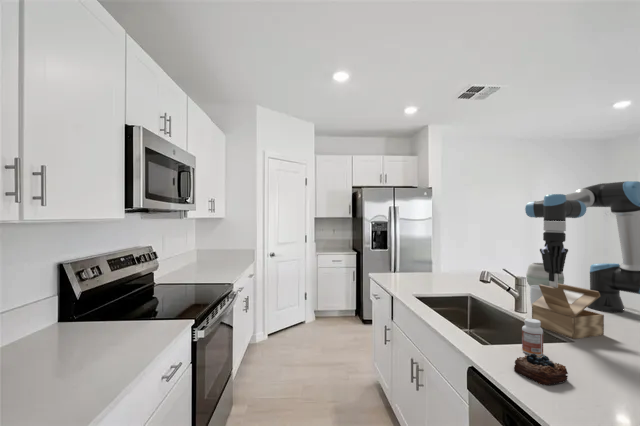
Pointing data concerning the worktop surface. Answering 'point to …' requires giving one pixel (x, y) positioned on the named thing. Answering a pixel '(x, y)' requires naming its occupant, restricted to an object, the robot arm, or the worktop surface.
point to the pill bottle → (532, 337)
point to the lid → (565, 299)
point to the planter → (540, 275)
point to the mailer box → (570, 323)
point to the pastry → (541, 369)
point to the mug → (535, 293)
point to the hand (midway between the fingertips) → (553, 289)
